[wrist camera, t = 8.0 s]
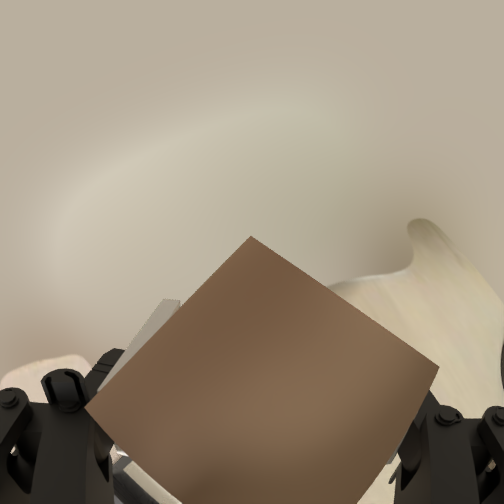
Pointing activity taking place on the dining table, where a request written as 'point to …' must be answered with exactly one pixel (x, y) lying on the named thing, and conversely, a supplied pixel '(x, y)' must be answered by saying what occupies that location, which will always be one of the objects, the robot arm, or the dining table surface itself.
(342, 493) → the walnut block
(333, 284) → the dining table surface
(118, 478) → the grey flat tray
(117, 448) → the robot arm
